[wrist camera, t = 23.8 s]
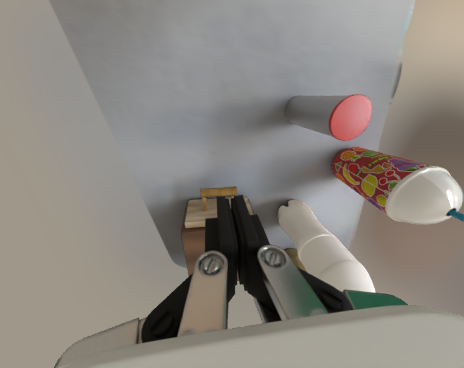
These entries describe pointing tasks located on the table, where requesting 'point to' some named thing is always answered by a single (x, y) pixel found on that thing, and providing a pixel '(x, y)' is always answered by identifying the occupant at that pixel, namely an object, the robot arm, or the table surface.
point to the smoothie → (400, 186)
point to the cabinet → (194, 244)
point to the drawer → (208, 206)
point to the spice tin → (331, 114)
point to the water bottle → (322, 250)
